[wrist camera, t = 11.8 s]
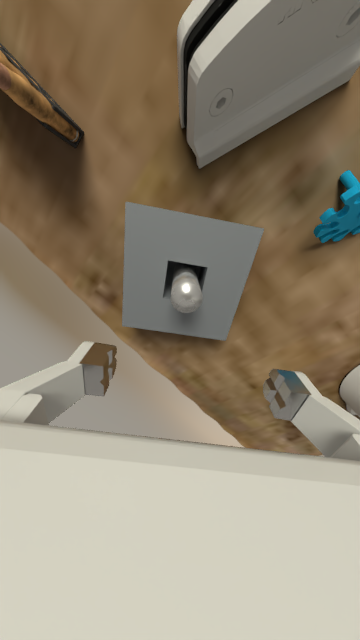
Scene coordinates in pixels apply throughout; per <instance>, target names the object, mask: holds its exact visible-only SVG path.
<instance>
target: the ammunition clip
mask: <svg viewBox="0 0 360 640" xmlns="http://www.w3.org/2000/svg"><path fill="white" fill-rule="evenodd" d="M0 89H1V90H2V91H4V92H5V93H6V94H7V95H8V96H9V97H10V98H11V99H12V100H13V101H14V102H15V103H16V104H18V105H19V106H20V107H22V108H23V109H24V110H26V111H27V112H29V113H30V114H31V115H33V116H34V117H35V118H36V119H37V120H38V121H39V122H40V123H41V124H42V125H43V126H44V127H45V128H47V129H48V130H50V131H51V132H52V133H54V134H55V135H57V136H58V137H60V138H61V139H62V140H64V141H65V142H67V143H68V144H70V145H71V146H73V147H74V148H76V147H77V145H78V143H79V141H80V140H81V138H82V136H83V134H84V132H83V131H82V130H81V128H80V127H79V126H78V125H77V124H76V123H75V122H74V121H73V120H72V119H71V118H70V117H69V116H68V115H67V114H66V112H65V111H64V110H63V109H62V108H61V107H60V106H59V105H58V104H57V103H56V102H55V101H54V100H53V99H52V98H51V96H50V95H49V94H48V93H47V92H46V91H45V90H44V89H43V88H42V87H41V86H40V85H39V84H38V83H37V82H36V80H35V79H34V78H33V77H32V76H31V75H30V74H29V73H28V72H27V71H26V70H25V69H24V68H23V67H22V66H21V64H20V63H19V62H18V61H17V60H16V59H15V58H14V57H13V56H12V55H11V54H10V53H9V52H8V51H7V50H6V48H5V47H4V46H3V45H2V44H1V43H0Z"/></svg>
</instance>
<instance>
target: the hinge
mask: <svg viewBox="0 0 360 640" xmlns="http://www.w3.org/2000/svg"><path fill="white" fill-rule="evenodd" d="M177 55H178V88H179V116H180V122H181V127H182V128H184V127H185V129H187V142H188V144H189V146H190V147H191V149H192V150H193V152H194V154H195V155H196V159H197V166H198V167H199V169H200V168H202V167H203V166H205V165H207V164H208V163H210V162H212V161H214V160H215V159H217V158H219V157H220V156H222V155H224V154H225V153H227V152H229V151H230V150H232V149H234V148H236V147H237V146H239V145H241V144H242V143H244V142H246V141H247V140H249V139H251V138H252V137H254V136H256V135H258V134H259V133H261V132H263V131H264V130H266V129H268V128H269V127H271V126H273V125H274V124H276V123H278V122H280V121H281V120H283V119H285V118H286V117H288V116H290V115H291V114H293V113H295V112H296V111H298V110H300V109H302V108H303V107H305V106H307V105H308V104H310V103H312V102H313V101H315V100H317V99H318V98H320V97H322V96H324V95H325V94H327V93H329V92H330V91H332V90H334V89H335V88H337V87H339V86H340V85H342V84H344V83H346V82H347V81H349V80H350V79H351V77H352V76H353V74H354V73H355V71H356V70H357V68H358V67H359V65H360V0H193V1H192V2H191V4H190V5H189V7H188V8H187V10H186V11H185V13H184V14H183V16H182V18H181V20H180V22H179V26H178V30H177Z"/></svg>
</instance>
